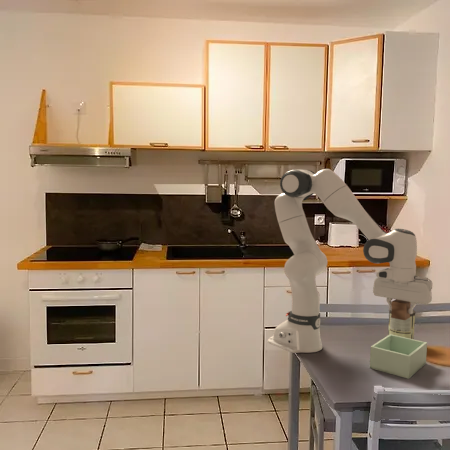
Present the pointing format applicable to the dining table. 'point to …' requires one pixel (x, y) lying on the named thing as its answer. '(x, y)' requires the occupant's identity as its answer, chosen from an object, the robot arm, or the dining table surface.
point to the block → (400, 309)
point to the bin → (398, 355)
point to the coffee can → (402, 326)
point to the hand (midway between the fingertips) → (400, 311)
